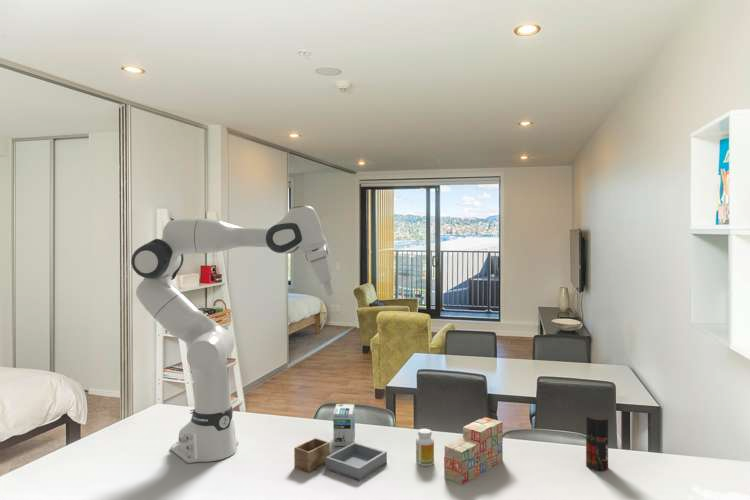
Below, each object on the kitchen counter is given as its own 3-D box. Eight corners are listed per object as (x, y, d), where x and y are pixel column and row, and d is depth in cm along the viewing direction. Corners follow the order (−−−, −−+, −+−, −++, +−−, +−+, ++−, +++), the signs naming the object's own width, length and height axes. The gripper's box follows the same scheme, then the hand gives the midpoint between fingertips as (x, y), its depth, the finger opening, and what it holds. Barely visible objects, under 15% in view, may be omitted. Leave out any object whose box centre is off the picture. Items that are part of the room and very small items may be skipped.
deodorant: (586, 460, 150) (586, 411, 150) (608, 464, 147) (608, 414, 147) (585, 469, 144) (585, 418, 144) (608, 473, 142) (607, 421, 142)
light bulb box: (353, 446, 162) (353, 414, 161) (333, 446, 162) (332, 414, 162) (355, 434, 172) (355, 403, 172) (336, 434, 172) (336, 403, 172)
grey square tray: (325, 469, 146) (325, 457, 146) (354, 453, 157) (354, 442, 156) (359, 481, 138) (358, 468, 138) (386, 463, 149) (386, 451, 149)
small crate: (309, 473, 143) (308, 452, 143) (294, 467, 147) (294, 447, 147) (329, 461, 150) (329, 442, 150) (315, 457, 154) (315, 437, 154)
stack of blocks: (462, 485, 135) (461, 441, 135) (443, 478, 140) (443, 435, 140) (503, 461, 150) (502, 421, 150) (485, 454, 155) (485, 416, 155)
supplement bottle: (437, 462, 150) (437, 430, 149) (426, 468, 146) (426, 435, 145) (423, 457, 153) (423, 426, 153) (412, 462, 149) (412, 431, 149)
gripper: (308, 256, 168) (321, 294, 169) (306, 257, 148) (321, 300, 148) (325, 250, 169) (338, 288, 169) (326, 250, 149) (340, 293, 149)
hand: (330, 294), depth 159 cm, fingers open, 8 cm apart
